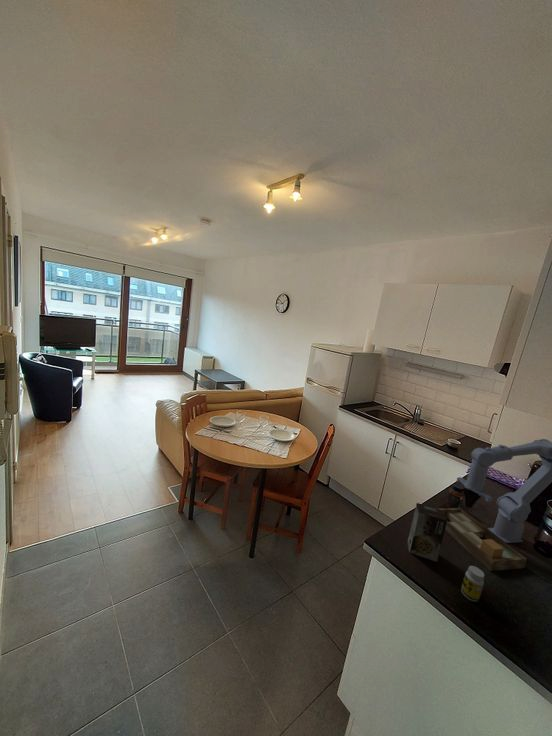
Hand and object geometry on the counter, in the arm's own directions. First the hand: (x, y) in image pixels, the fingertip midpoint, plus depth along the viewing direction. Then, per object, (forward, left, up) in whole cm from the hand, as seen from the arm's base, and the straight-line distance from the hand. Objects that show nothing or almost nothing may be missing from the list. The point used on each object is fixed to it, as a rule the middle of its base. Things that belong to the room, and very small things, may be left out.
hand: (468, 506), depth 120 cm
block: (+7, +17, -7) cm, 19 cm away
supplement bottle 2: (+28, +28, -10) cm, 41 cm away
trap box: (+3, +7, -9) cm, 12 cm away
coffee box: (+31, +11, -10) cm, 34 cm away
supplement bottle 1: (-7, -12, -10) cm, 17 cm away
